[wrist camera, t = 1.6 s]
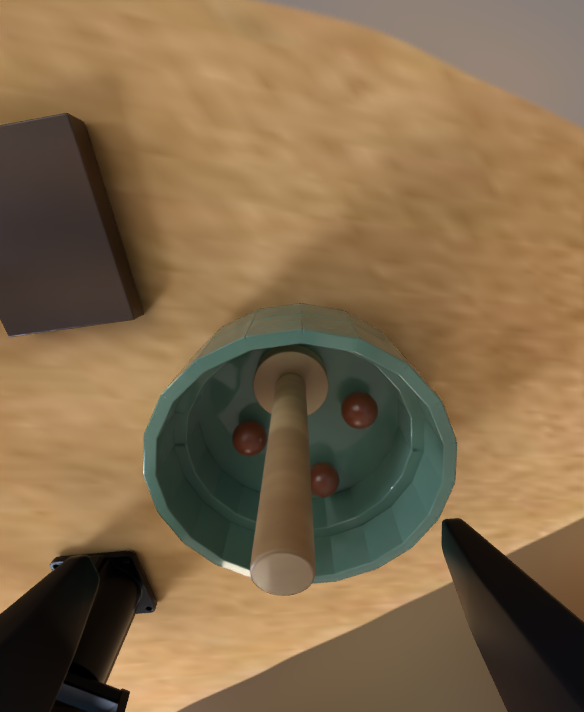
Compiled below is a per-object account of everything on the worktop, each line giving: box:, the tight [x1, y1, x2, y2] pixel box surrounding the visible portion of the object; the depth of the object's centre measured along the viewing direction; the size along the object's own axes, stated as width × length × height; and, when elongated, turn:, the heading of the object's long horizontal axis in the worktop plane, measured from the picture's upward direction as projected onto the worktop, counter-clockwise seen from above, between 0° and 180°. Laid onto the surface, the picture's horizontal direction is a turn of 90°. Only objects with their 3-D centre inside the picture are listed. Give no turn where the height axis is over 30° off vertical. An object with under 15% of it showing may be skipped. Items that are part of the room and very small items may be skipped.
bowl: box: [143, 303, 457, 583], centre depth 17 cm, size 14×14×6 cm
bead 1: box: [232, 420, 267, 456], centre depth 19 cm, size 2×2×2 cm
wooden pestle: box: [250, 344, 329, 596], centre depth 13 cm, size 4×4×11 cm
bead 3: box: [341, 392, 378, 429], centre depth 18 cm, size 2×2×2 cm
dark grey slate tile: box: [0, 113, 144, 337], centre depth 16 cm, size 9×7×1 cm
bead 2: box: [310, 462, 339, 498], centre depth 20 cm, size 2×2×2 cm
